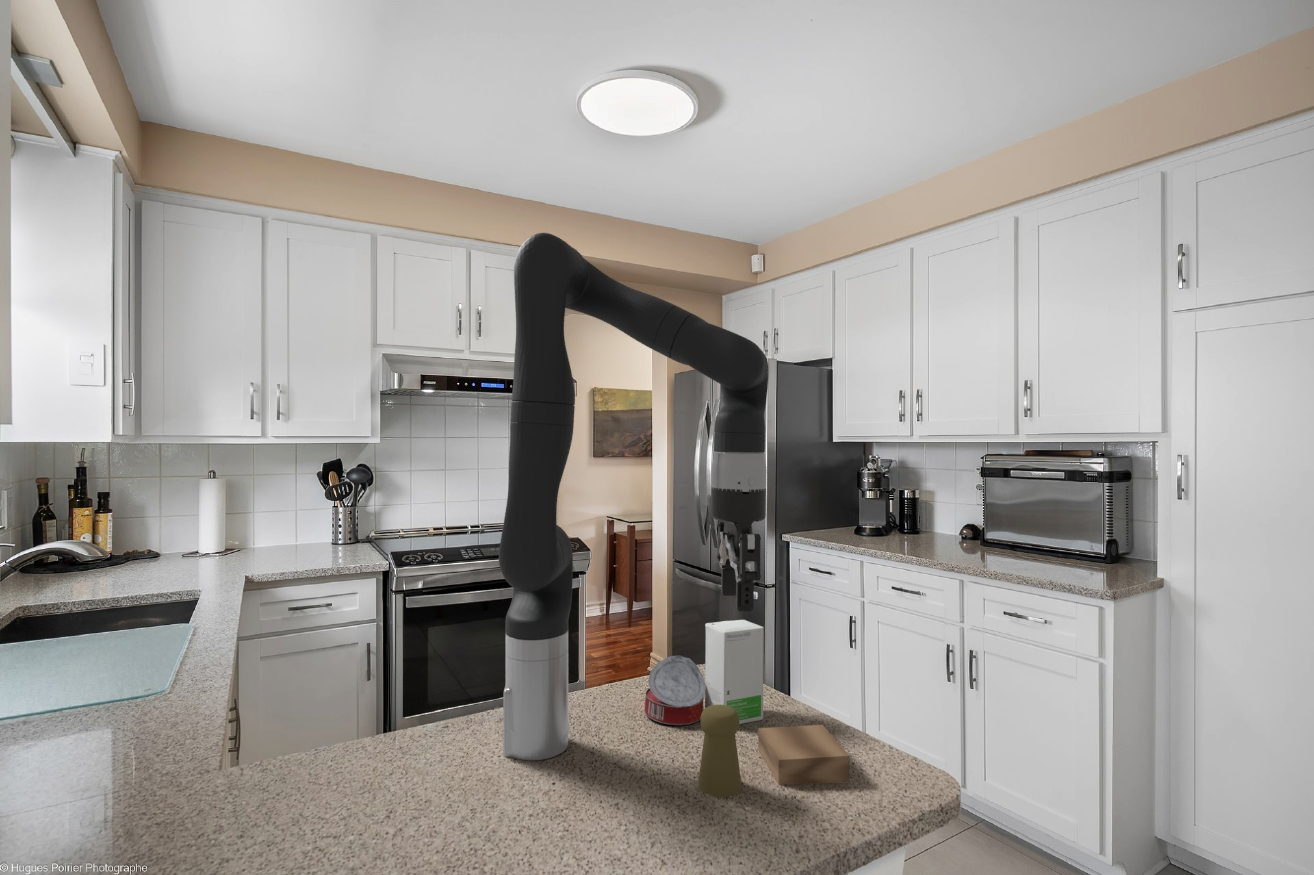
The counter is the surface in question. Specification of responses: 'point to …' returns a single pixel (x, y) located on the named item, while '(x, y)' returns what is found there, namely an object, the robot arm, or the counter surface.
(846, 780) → the walnut block
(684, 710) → the canned food
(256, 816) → the counter surface
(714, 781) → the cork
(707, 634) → the skincare box
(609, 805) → the counter surface
